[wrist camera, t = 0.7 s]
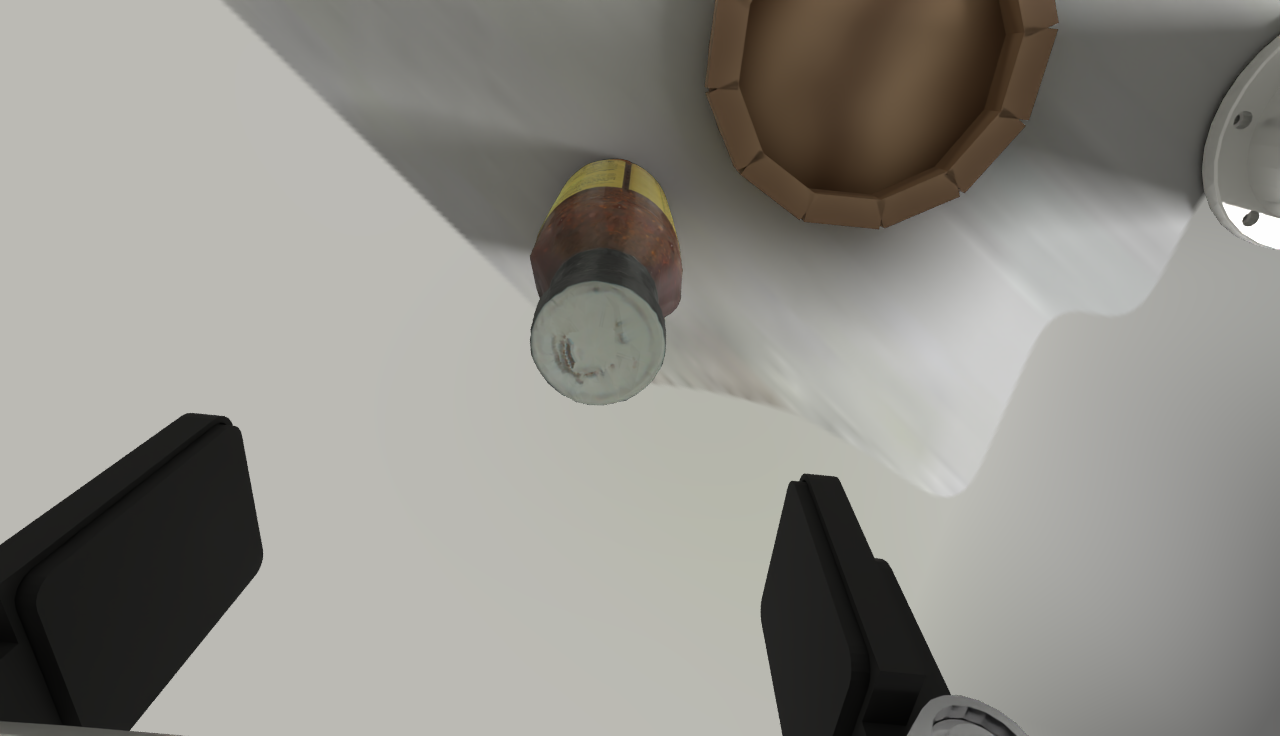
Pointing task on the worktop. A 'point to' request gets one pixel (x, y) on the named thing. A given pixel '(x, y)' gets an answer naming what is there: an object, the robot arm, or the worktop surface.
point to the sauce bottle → (605, 284)
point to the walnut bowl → (873, 98)
